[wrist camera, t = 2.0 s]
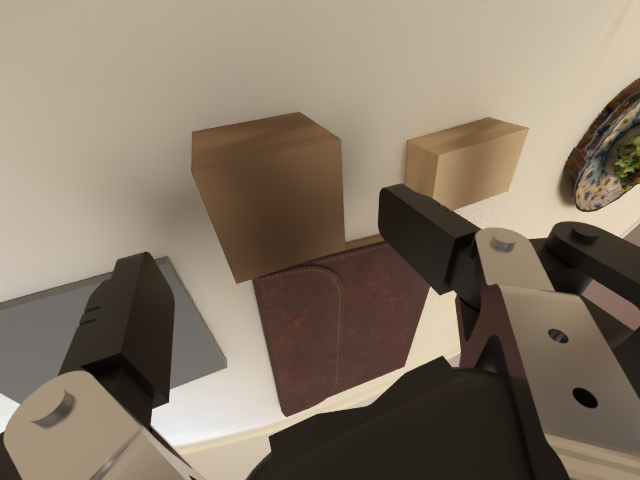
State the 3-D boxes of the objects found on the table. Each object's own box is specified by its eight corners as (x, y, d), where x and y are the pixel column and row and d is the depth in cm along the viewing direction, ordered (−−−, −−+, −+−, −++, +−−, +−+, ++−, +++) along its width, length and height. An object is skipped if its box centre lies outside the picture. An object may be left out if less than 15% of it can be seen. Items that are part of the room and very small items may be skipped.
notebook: (438, 215, 22) (456, 228, 20) (399, 353, 33) (408, 368, 32) (247, 260, 18) (252, 280, 16) (278, 400, 29) (283, 419, 28)
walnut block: (298, 111, 13) (340, 139, 10) (310, 201, 16) (345, 249, 13) (192, 131, 12) (191, 171, 8) (225, 223, 15) (236, 283, 11)
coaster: (166, 256, 15) (166, 263, 15) (226, 360, 22) (227, 367, 21) (-88, 327, 13) (-99, 338, 12) (68, 419, 19) (65, 429, 19)
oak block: (485, 116, 18) (528, 128, 15) (472, 173, 20) (507, 190, 18) (405, 139, 16) (438, 155, 14) (401, 197, 19) (430, 218, 17)
